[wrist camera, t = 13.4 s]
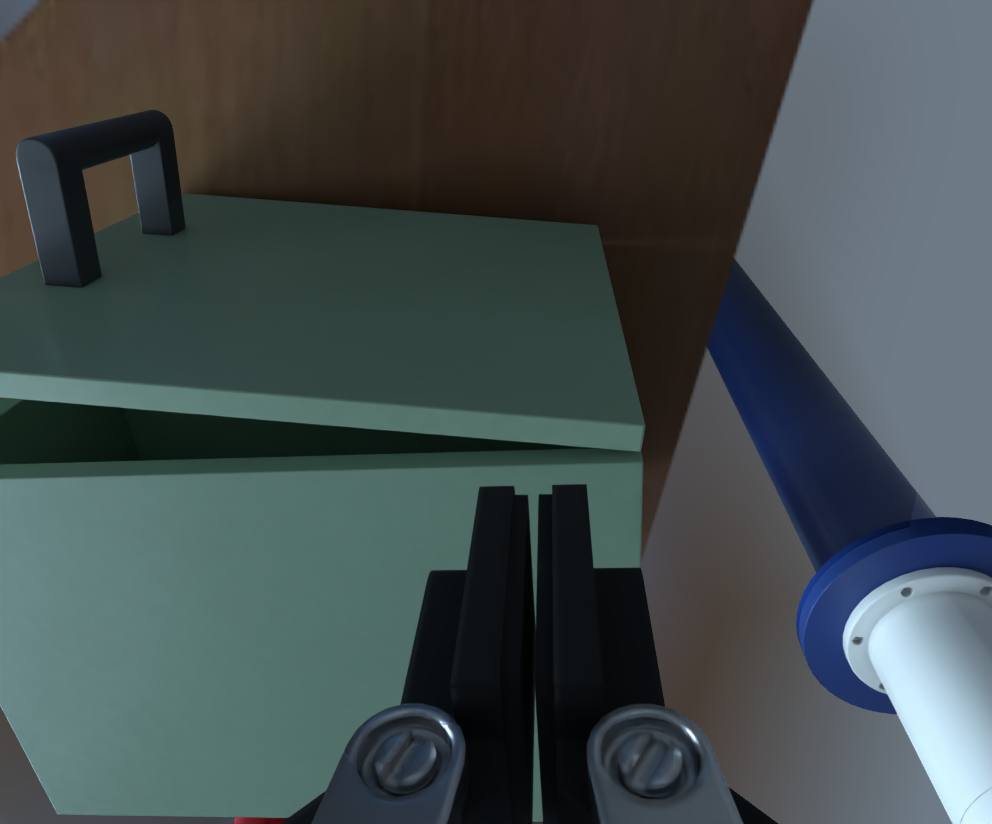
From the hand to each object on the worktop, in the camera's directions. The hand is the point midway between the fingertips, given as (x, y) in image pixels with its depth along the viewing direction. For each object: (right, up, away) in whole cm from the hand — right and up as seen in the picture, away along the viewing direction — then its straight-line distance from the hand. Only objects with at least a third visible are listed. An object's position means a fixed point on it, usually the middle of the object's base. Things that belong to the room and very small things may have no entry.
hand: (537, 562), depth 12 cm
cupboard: (-7, +4, +40) cm, 41 cm away
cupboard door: (-7, +17, +33) cm, 38 cm away
